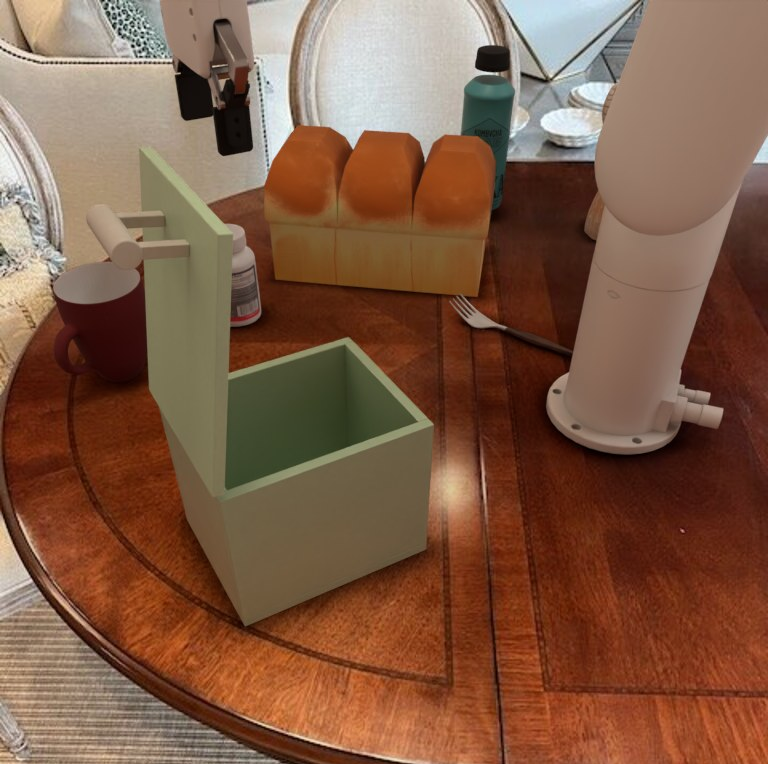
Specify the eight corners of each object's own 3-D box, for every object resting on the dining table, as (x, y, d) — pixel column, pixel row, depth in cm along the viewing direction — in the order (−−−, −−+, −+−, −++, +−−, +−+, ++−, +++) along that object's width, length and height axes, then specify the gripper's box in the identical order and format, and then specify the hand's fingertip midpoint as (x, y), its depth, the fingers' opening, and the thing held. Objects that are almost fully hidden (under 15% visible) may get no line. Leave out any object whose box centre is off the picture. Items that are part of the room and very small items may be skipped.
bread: (488, 248, 99) (501, 125, 89) (481, 298, 90) (494, 168, 80) (296, 233, 102) (286, 112, 91) (270, 280, 93) (257, 152, 83)
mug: (114, 417, 74) (86, 326, 67) (47, 397, 77) (13, 306, 70) (177, 360, 81) (158, 271, 74) (114, 342, 84) (89, 254, 76)
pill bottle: (214, 304, 89) (200, 221, 82) (262, 302, 90) (252, 219, 83) (212, 329, 85) (197, 245, 78) (261, 327, 86) (251, 242, 79)
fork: (575, 367, 81) (578, 350, 79) (446, 317, 87) (447, 301, 86) (586, 356, 82) (590, 339, 81) (459, 307, 89) (460, 291, 88)
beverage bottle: (446, 206, 108) (456, 42, 94) (490, 200, 109) (507, 37, 95) (463, 226, 103) (477, 57, 89) (509, 220, 105) (530, 52, 91)
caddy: (352, 459, 70) (348, 336, 61) (426, 549, 63) (434, 424, 54) (186, 519, 65) (155, 394, 56) (244, 627, 57) (219, 502, 48)
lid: (152, 146, 45) (63, 146, 43) (233, 233, 38) (131, 238, 35) (159, 388, 56) (88, 398, 53) (224, 495, 48) (145, 513, 46)
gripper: (275, -79, 57) (291, 160, 70) (194, -112, 68) (220, 100, 80) (177, -71, 55) (211, 175, 67) (108, -107, 65) (148, 112, 77)
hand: (216, 134), depth 73 cm, fingers open, 9 cm apart
